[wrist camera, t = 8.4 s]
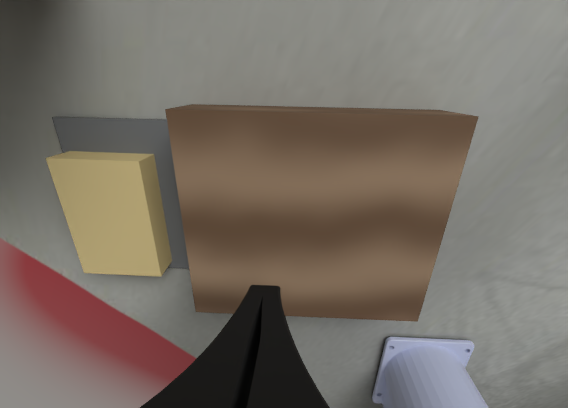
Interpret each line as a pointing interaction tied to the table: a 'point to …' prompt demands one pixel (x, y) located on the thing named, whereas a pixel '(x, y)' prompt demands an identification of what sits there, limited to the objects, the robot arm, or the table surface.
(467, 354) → the robot arm
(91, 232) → the pale yellow block
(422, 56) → the table surface
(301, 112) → the board
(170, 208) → the mat
